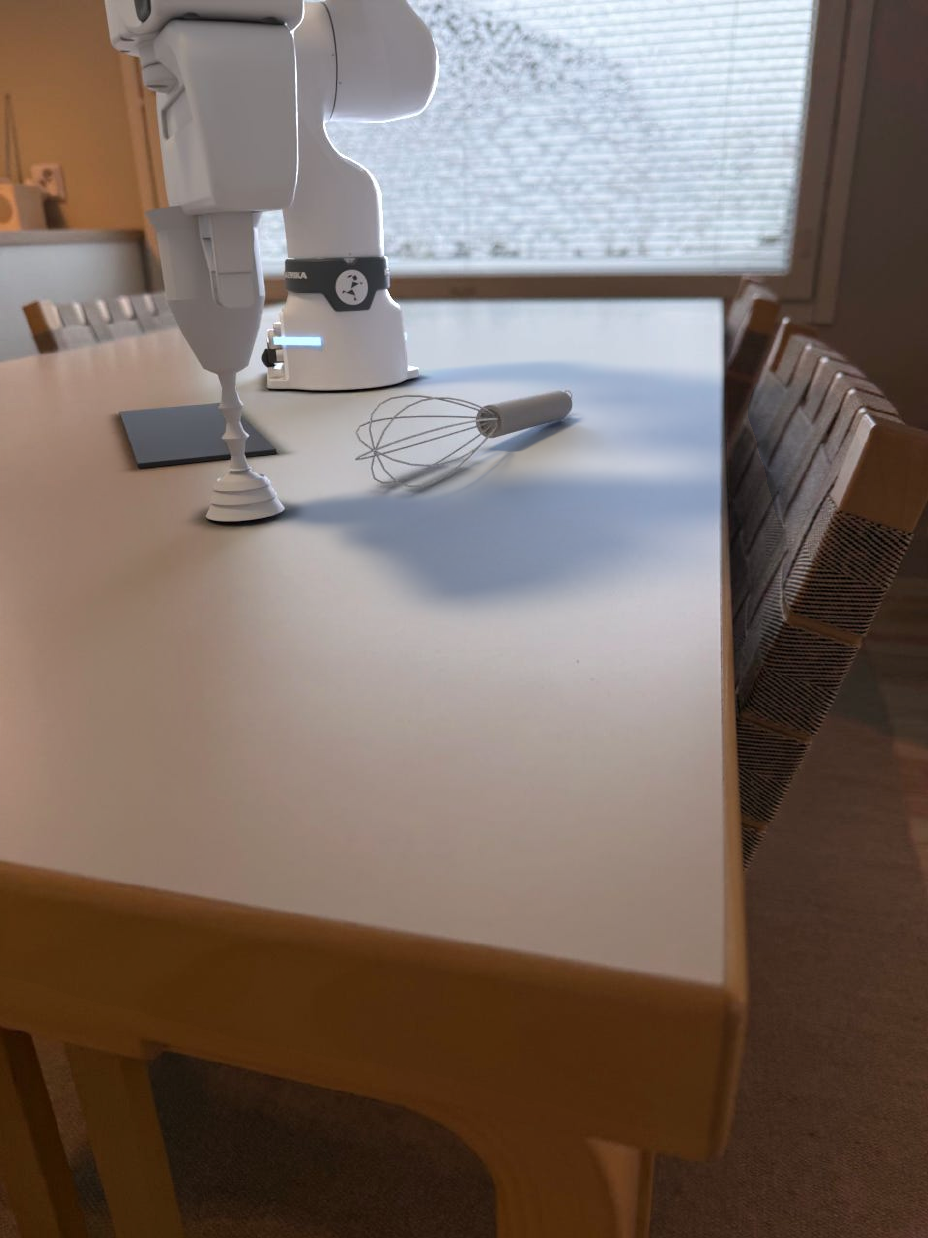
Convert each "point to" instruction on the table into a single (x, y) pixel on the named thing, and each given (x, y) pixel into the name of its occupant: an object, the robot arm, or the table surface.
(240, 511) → the chalice
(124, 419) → the mat
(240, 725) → the table surface
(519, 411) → the kitchen whisk
